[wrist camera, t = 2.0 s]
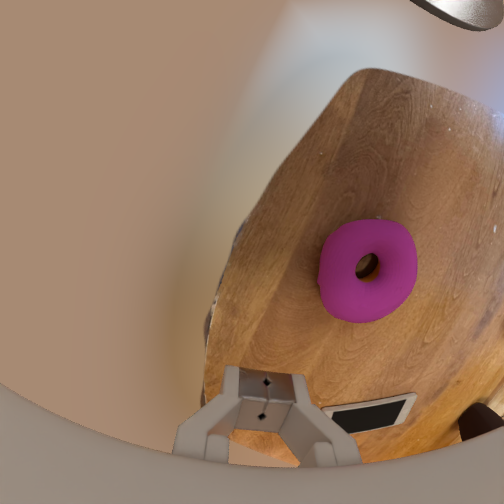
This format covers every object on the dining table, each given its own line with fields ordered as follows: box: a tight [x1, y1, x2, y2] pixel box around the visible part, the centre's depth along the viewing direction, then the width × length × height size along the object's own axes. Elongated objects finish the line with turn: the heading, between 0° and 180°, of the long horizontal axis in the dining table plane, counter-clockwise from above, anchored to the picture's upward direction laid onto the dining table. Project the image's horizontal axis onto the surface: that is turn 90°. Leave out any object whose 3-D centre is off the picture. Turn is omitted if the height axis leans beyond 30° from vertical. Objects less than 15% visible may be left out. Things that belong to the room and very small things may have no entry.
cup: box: [458, 403, 504, 442], centre depth 33 cm, size 10×14×12 cm
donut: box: [317, 219, 417, 323], centre depth 26 cm, size 10×10×5 cm
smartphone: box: [322, 393, 417, 434], centre depth 35 cm, size 7×16×1 cm, turn 90°
